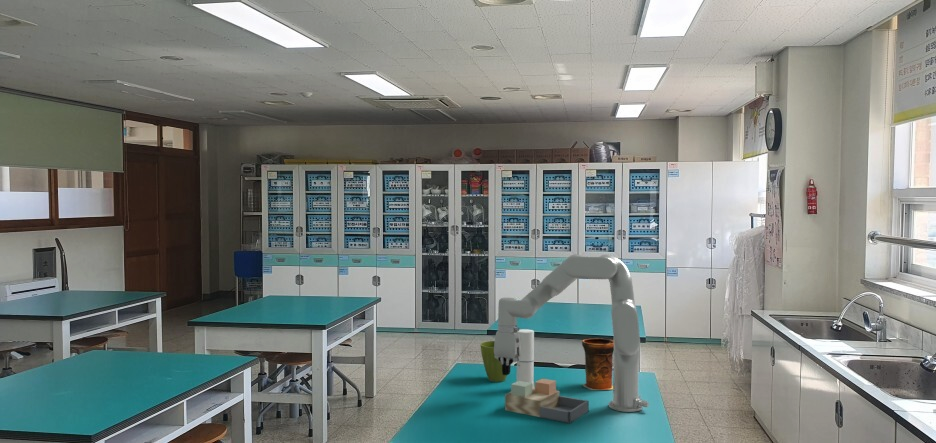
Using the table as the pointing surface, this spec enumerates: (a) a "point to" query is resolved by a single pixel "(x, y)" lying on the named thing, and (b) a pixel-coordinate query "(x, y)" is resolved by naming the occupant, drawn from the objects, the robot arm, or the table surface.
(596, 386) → the vessel
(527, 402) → the striped wooden block
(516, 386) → the pale green block
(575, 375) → the table surface
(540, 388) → the salmon rectangular block
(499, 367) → the flower pot
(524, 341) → the cylindrical container
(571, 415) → the box
